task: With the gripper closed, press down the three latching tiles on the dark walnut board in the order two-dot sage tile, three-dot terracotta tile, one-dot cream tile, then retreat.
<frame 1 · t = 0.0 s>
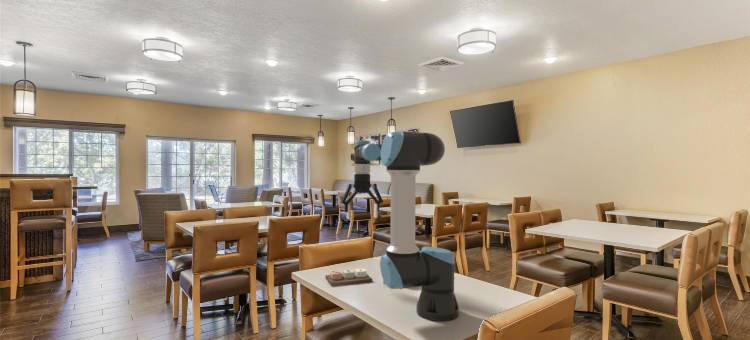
hand: (362, 218, 177), 28 cm above the table, fingers open, 13 cm apart
tile 3: (336, 274, 171), point 3 cm above the table, slide at 0.0 cm
container: (392, 281, 171), on the table
tile 2: (348, 273, 173), point 3 cm above the table, slide at 0.0 cm
board: (348, 280, 173), on the table
tile 1: (360, 272, 175), point 3 cm above the table, slide at 0.0 cm
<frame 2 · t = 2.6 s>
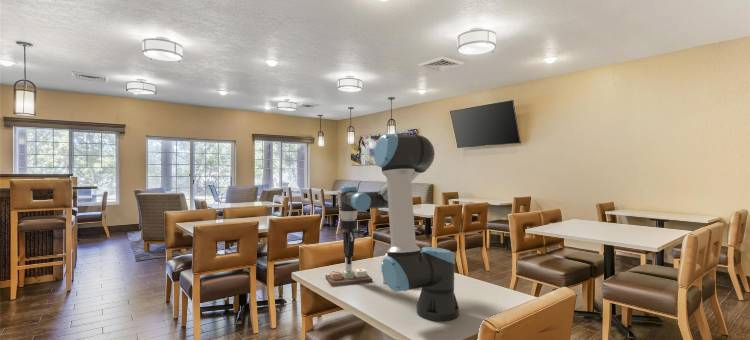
hand: (348, 270, 173), 4 cm above the table, fingers closed
tile 2: (348, 274, 173), point 3 cm above the table, slide at 0.1 cm, touching gripper
everything else where it was.
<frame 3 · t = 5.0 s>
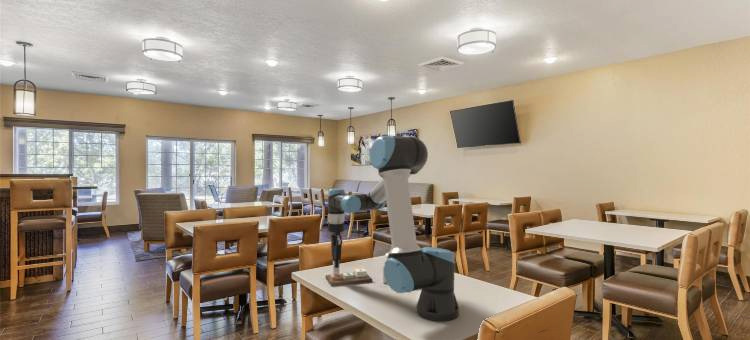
hand: (336, 274, 171), 3 cm above the table, fingers closed
tile 3: (336, 277, 171), point 2 cm above the table, slide at 1.2 cm, touching gripper
tile 2: (348, 276, 173), point 2 cm above the table, slide at 1.2 cm
everything else where it was.
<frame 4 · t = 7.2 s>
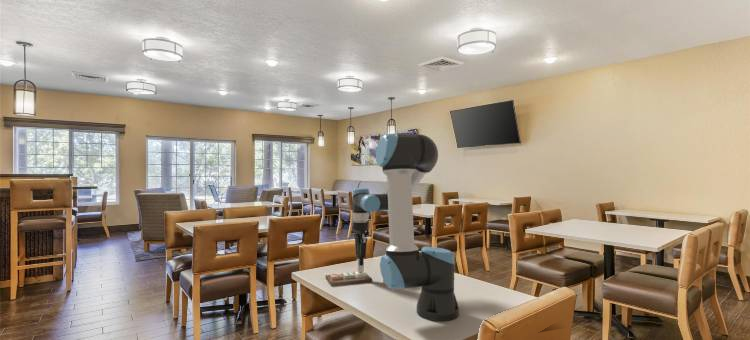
hand: (360, 271, 175), 3 cm above the table, fingers closed
tile 3: (336, 277, 171), point 2 cm above the table, slide at 1.3 cm
tile 1: (360, 275, 175), point 2 cm above the table, slide at 1.2 cm, touching gripper
everything else where it was.
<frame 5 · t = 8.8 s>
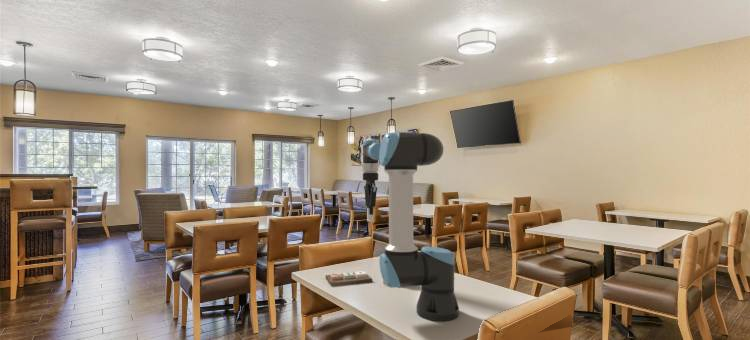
hand: (370, 221, 181), 26 cm above the table, fingers closed
tile 1: (360, 275, 175), point 2 cm above the table, slide at 1.3 cm
everything else where it was.
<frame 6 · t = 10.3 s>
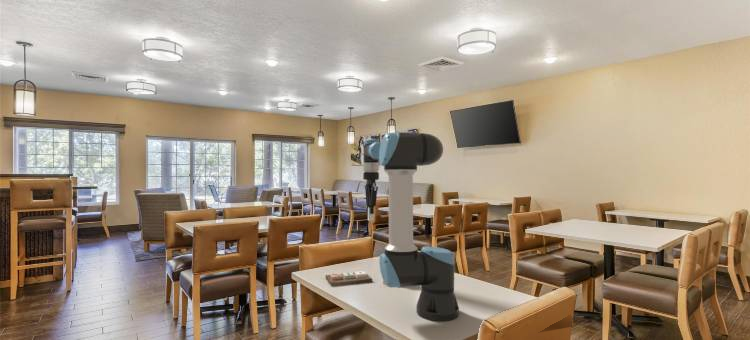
hand: (370, 220, 181), 26 cm above the table, fingers closed
nothing on the table moved.
at the end: tile 2 slide at 1.2 cm; tile 3 slide at 1.3 cm; tile 1 slide at 1.3 cm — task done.
